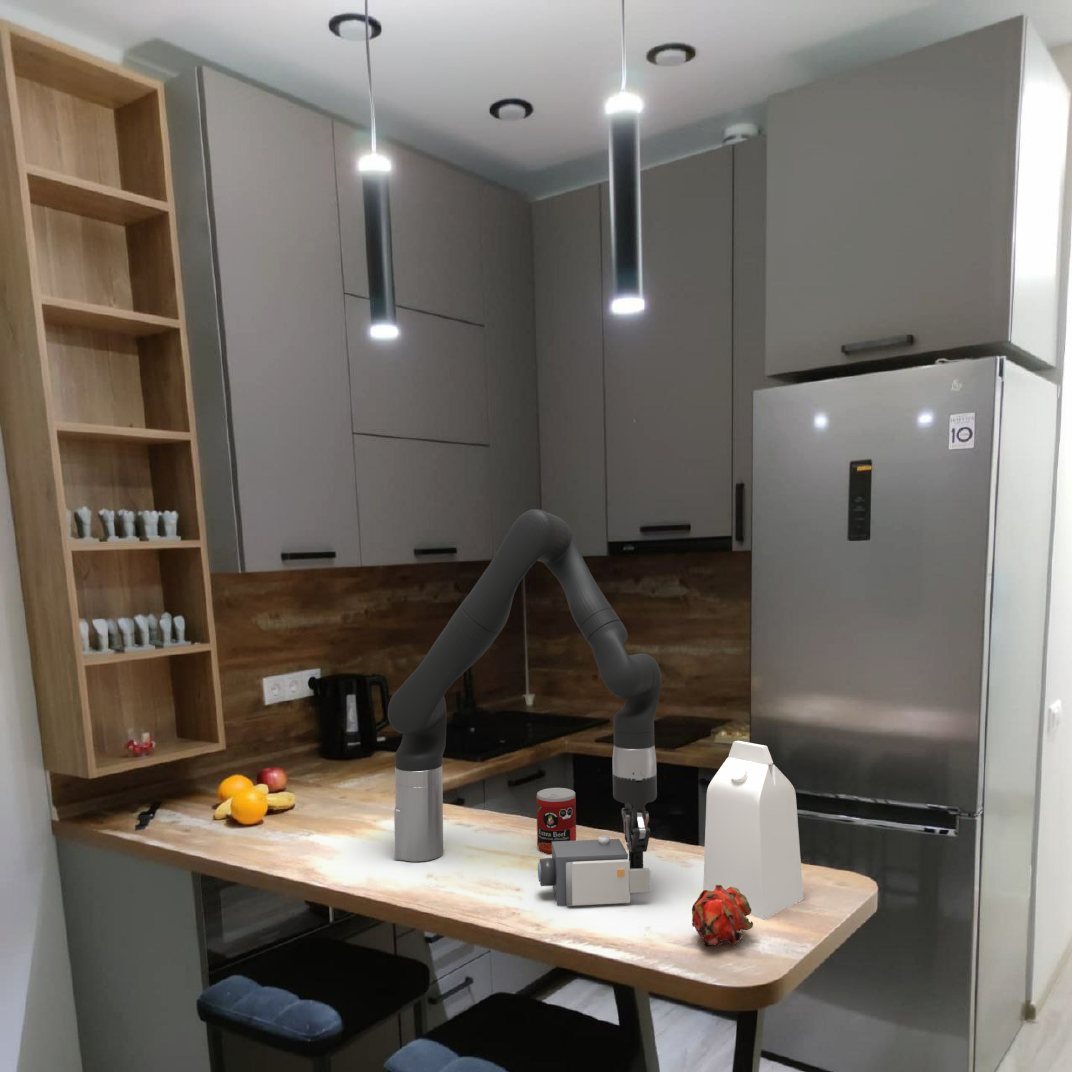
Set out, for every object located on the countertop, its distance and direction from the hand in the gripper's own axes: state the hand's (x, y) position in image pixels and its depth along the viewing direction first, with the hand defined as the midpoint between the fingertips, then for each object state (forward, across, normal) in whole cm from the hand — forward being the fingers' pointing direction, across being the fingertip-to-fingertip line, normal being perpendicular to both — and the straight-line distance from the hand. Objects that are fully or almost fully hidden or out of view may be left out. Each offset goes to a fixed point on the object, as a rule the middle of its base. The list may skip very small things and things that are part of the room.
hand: (636, 872), depth 150 cm
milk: (+4, +5, +19) cm, 20 cm away
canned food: (+4, -24, -11) cm, 27 cm away
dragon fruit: (+4, +20, +9) cm, 22 cm away
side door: (+3, +5, -6) cm, 8 cm away
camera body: (+3, 0, -9) cm, 10 cm away
